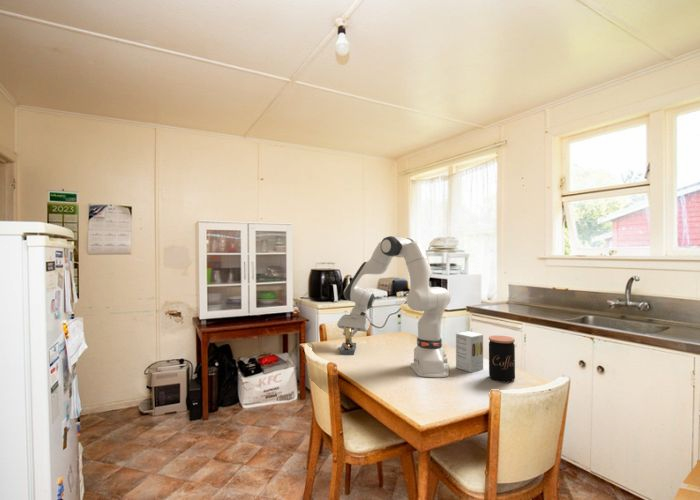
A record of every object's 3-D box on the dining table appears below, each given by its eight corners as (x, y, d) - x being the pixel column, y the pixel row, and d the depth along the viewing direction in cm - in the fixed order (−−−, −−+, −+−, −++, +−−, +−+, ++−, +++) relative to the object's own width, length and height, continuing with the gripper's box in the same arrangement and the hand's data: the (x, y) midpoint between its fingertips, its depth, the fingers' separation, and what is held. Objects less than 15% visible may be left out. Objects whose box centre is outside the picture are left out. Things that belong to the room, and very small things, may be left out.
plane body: (353, 354, 194) (353, 345, 194) (339, 354, 195) (339, 345, 195) (356, 347, 210) (356, 338, 210) (343, 346, 211) (342, 338, 211)
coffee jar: (490, 381, 153) (489, 340, 153) (488, 373, 163) (487, 334, 163) (517, 384, 150) (516, 341, 150) (513, 375, 160) (512, 336, 160)
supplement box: (471, 373, 164) (470, 336, 164) (455, 367, 172) (455, 333, 172) (484, 369, 169) (483, 334, 169) (468, 364, 177) (467, 330, 177)
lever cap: (351, 346, 200) (351, 328, 201) (345, 346, 201) (344, 328, 201) (352, 344, 204) (351, 327, 204) (345, 344, 204) (345, 327, 205)
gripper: (341, 311, 214) (331, 330, 206) (369, 314, 202) (360, 334, 194) (345, 317, 218) (336, 336, 210) (373, 320, 206) (364, 340, 198)
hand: (347, 335), depth 202 cm, fingers closed on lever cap, 4 cm apart
